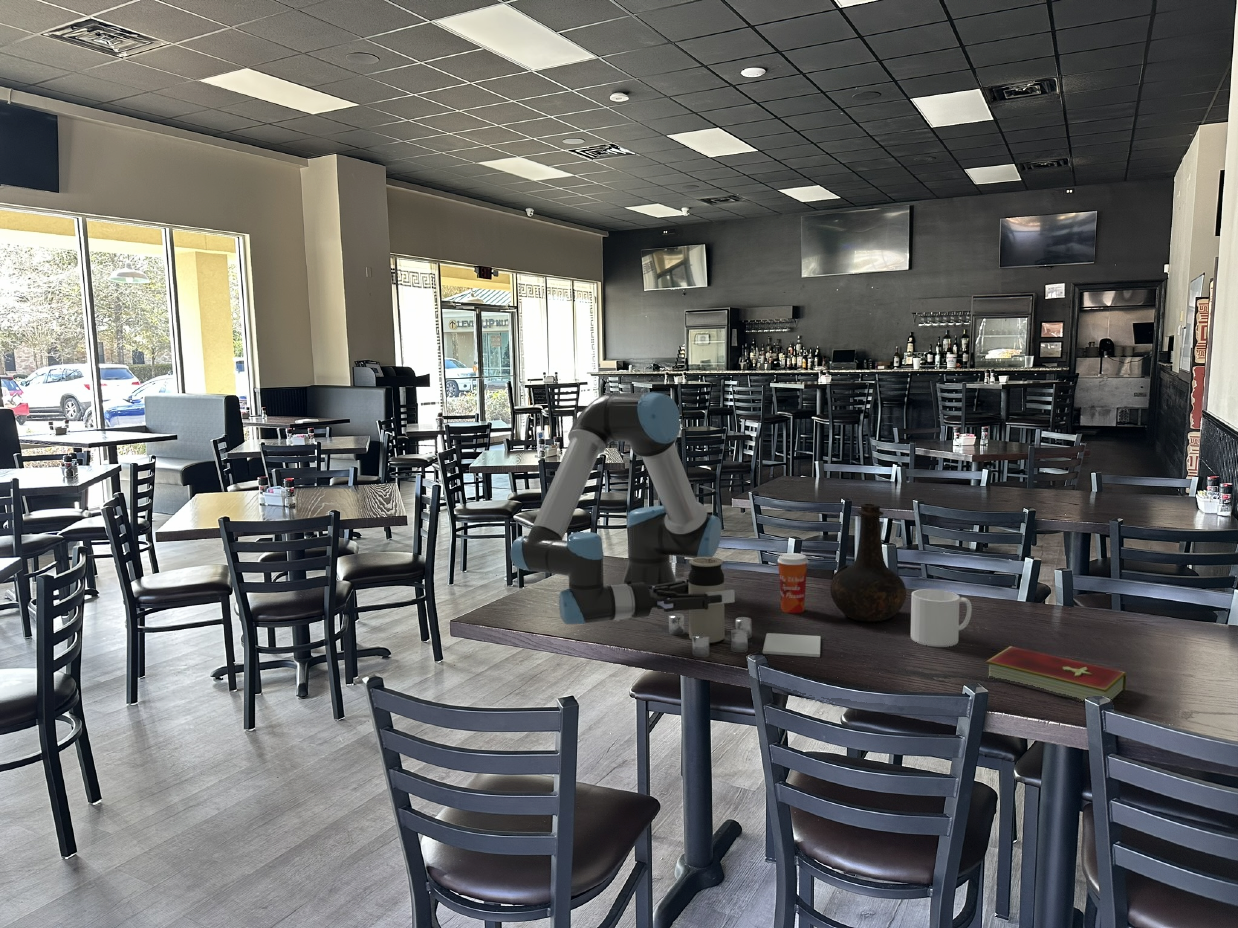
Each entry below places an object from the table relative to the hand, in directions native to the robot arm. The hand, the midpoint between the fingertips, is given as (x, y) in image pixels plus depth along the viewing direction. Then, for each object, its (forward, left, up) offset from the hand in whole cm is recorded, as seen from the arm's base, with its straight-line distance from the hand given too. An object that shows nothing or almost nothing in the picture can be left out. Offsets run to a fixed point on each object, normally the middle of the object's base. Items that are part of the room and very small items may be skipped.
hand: (726, 590), depth 186 cm
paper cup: (-25, +14, -11) cm, 30 cm away
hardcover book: (+15, +65, -12) cm, 67 cm away
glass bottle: (-23, +32, -11) cm, 41 cm away
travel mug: (+2, -4, -11) cm, 12 cm away
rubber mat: (+2, +15, -11) cm, 19 cm away
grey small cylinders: (+2, -4, -11) cm, 12 cm away
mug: (-8, +47, -11) cm, 49 cm away
